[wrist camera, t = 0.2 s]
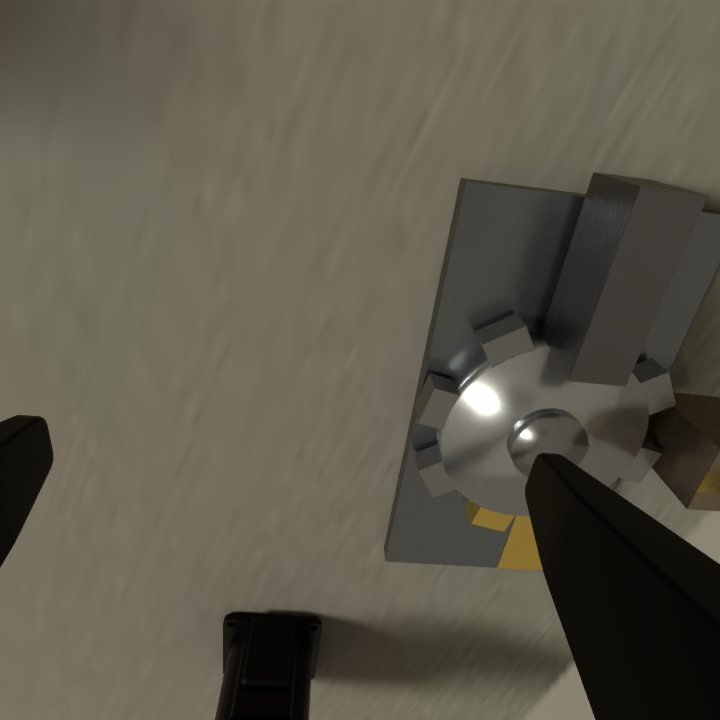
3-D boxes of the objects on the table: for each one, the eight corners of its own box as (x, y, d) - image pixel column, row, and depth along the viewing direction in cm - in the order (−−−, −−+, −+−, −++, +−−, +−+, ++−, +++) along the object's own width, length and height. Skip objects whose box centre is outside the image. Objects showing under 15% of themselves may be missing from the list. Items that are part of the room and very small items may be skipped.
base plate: (567, 559, 32) (574, 573, 31) (384, 548, 31) (385, 562, 30) (724, 212, 22) (741, 217, 21) (460, 178, 21) (466, 181, 20)
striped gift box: (690, 449, 28) (754, 513, 24) (632, 444, 28) (687, 509, 24) (717, 396, 27) (793, 455, 22) (656, 390, 26) (720, 449, 22)
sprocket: (606, 519, 29) (641, 575, 26) (393, 505, 28) (400, 561, 24) (762, 194, 21) (845, 213, 17) (466, 154, 19) (492, 166, 16)
